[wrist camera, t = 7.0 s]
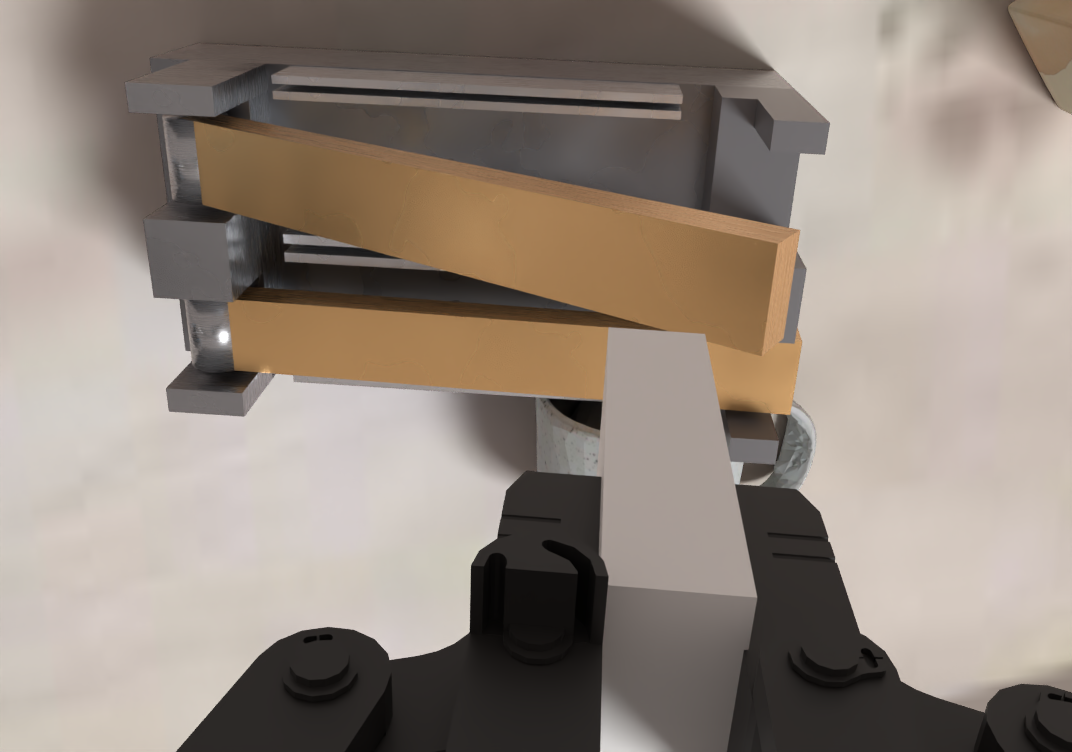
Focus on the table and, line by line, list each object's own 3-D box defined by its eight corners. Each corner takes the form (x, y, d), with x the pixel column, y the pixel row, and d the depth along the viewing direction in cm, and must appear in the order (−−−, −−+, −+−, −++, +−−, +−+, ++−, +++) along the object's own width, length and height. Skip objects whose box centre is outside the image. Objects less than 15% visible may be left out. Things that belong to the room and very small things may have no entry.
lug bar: (682, 381, 34) (693, 458, 30) (715, 85, 30) (734, 118, 25) (752, 386, 34) (775, 464, 29) (794, 89, 30) (829, 122, 25)
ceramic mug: (542, 514, 42) (532, 634, 35) (541, 335, 38) (529, 428, 31) (796, 519, 41) (838, 642, 34) (818, 338, 38) (869, 433, 31)
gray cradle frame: (225, 309, 39) (128, 408, 31) (198, 42, 35) (77, 80, 27) (738, 341, 38) (771, 451, 30) (775, 70, 34) (823, 117, 26)
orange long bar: (205, 347, 33) (182, 370, 31) (198, 279, 32) (173, 298, 30) (784, 393, 31) (791, 419, 30) (795, 322, 30) (803, 345, 29)
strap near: (208, 186, 31) (159, 197, 29) (200, 107, 30) (148, 115, 28) (788, 334, 21) (755, 360, 20) (805, 227, 20) (772, 247, 19)
